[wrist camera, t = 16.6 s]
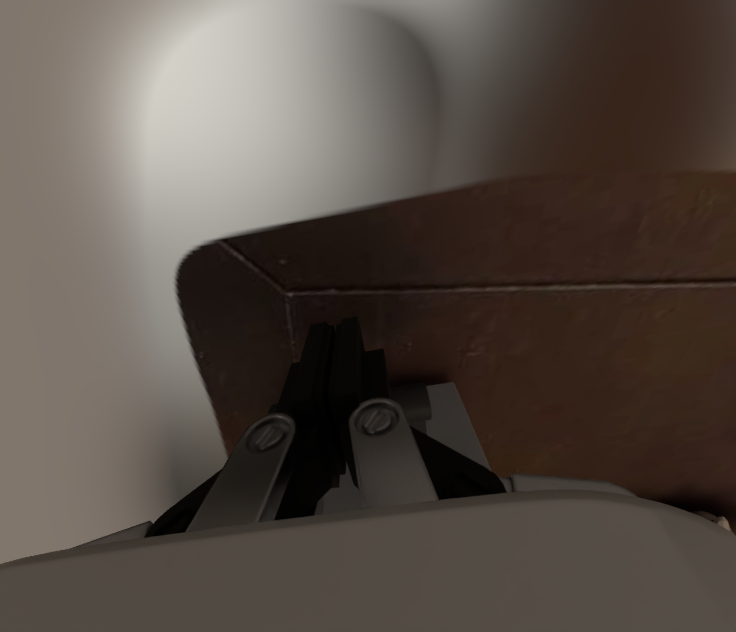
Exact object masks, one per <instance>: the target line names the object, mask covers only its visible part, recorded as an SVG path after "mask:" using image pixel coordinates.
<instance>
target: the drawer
mask: <svg viewBox="0 0 736 632" xmlns="http://www.w3.org/2000/svg"><path fill="white" fill-rule="evenodd" d="M390 391H391V398H392V400H394V401H395V402H397V403H398V404H400V405H401V407H402V409H403V410H404V412H405V415H406V417H407V420H408V422H409V425H410V426H412V427H413V428H415V429H417V430H419V431H421V432H422V433H424V434H426V435H428V436H430V437H432V438H433V439H435V440H437V441H439V442H441V443H442V444H444V445H446V446H448V447H450V448H452V449H453V450H455V451H457V452H459V453H461V454H462V455H464V456H466V457H468V458H470V459H471V460H473V461H475V462H477V463H479V464H481V465H482V466H484V467H486V468H487V469H489V470H490V471H491V469H490V467H489V464H488V462H487V460H486V457H485V455H484V453H483V450H482V448H481V445H480V443H479V441H478V438H477V436H476V434H475V431H474V429H473V426H472V424H471V422H470V419H469V417H468V415H467V412H466V410H465V407H464V405H463V403H462V400H461V398H460V396H459V393H458V391H457V388H456V386H455V384H454V382H450V383H443V384H436V385H430V386H426V384H425V383H424V382H421V383H414V384H408V385H401V386H394V387H390ZM277 407H278V404H275V405H272V406H271V407H270V409H269V412H268V415H269V414H272V413H276V410H277ZM323 498H324V509H323V513H322V514H330V513H338V512H346V511H354V510H362V506H361V499H360V493H359V489H358V488H357V487H355V486H354V484H353V481H352V478H351V474H350V472H349V468H348V465H347V462H346V474H345V475H340V483H339V488H331V489H330V490H329V491H328V492H327V493H326V494H325V495H324V496H323Z"/></svg>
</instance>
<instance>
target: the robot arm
mask: <svg viewBox="0 0 736 632" xmlns="http://www.w3.org/2000/svg"><path fill="white" fill-rule="evenodd" d="M346 462H347V465H348V468H349V472H350V474H351V478H352V481H353V484H354V486H355V487H357V488H358V489H359V493H360V499H361V506H362V510H354V511H346V512H338V513H330V514H322V513H323V509H324V498H323V496H324V495H325V494H326V493H327V492H328V491H329V490H330V489H331V488H339V483H340V475H345V474H346ZM0 632H736V535H735V534H733V533H732V532H730V531H728V530H727V529H725V528H724V527H722V526H720V525H718V524H716V523H714V522H712V521H709V520H707V519H705V518H703V517H701V516H699V515H696V514H693V513H690V512H688V511H685V510H682V509H679V508H676V507H673V506H670V505H666V504H663V503H660V502H656V501H651V500H647V499H642V498H639V497H637V496H636V495H635V494H634V493H632V492H631V491H630V490H628V489H626V488H624V487H622V486H619V485H617V484H615V483H611V482H606V481H602V480H590V479H577V478H565V477H553V476H541V475H528V474H516V473H511V478H506V477H497V475H496V474H494V473H493V472H492V471H490V470H489V469H487V468H486V467H484V466H482V465H481V464H479V463H477V462H475V461H473V460H471V459H470V458H468V457H466V456H464V455H462V454H461V453H459V452H457V451H455V450H453V449H452V448H450V447H448V446H446V445H444V444H442V443H441V442H439V441H437V440H435V439H433V438H432V437H430V436H428V435H426V434H424V433H422V432H421V431H419V430H417V429H415V428H413V427H412V426H410V425H409V422H408V420H407V417H406V415H405V412H404V410H403V409H402V407H401V405H400V404H398V403H397V402H395V401H394V400H392V398H391V391H390V384H389V377H388V371H387V365H386V359H385V354H384V349H379V350H373V351H366V352H365V349H364V344H363V339H362V334H361V330H360V325H359V320H358V317H353V318H347V319H342V323H341V324H337V326H336V334H335V330H334V326H333V325H329V326H328V324H327V322H323V323H317V324H311V325H310V328H309V332H308V335H307V339H306V342H305V346H304V349H303V353H302V356H301V360H300V362H296V363H292V365H291V367H290V370H289V373H288V376H287V379H286V382H285V385H284V388H283V391H282V394H281V397H280V400H279V404H278V407H277V410H276V413H272V414H269V415H266V416H263V417H261V418H259V419H258V420H256V421H254V422H253V423H252V424H251V425H250V426H249V427H248V428H247V429H246V430H245V432H244V433H243V434H242V436H241V438H240V439H239V441H238V443H237V445H236V446H235V448H234V450H233V451H232V453H231V455H230V456H229V458H228V460H227V462H226V463H225V465H224V467H223V468H222V469H221V470H220V471H218V472H217V473H216V474H215V475H213V476H212V477H211V478H209V479H208V480H207V481H205V482H204V483H203V484H201V485H200V486H199V487H197V488H196V489H195V490H193V491H192V492H191V493H190V494H188V495H187V496H186V497H184V498H183V499H182V500H180V501H179V502H178V503H176V504H175V505H174V506H172V507H171V508H170V509H169V510H167V511H166V512H165V513H164V514H163V515H162V516H160V517H159V518H158V519H157V520H156V522H155V523H154V524H153V523H152V522H151V521H147V522H145V523H142V524H139V525H136V526H133V527H130V528H128V529H125V530H122V531H119V532H116V533H113V534H110V535H108V536H105V537H102V538H99V539H96V540H93V541H90V542H87V543H84V544H82V545H79V546H76V547H73V548H70V549H66V550H60V551H55V552H50V553H45V554H40V555H35V556H30V557H25V558H21V559H17V560H14V561H10V562H6V563H3V564H0Z"/></svg>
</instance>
